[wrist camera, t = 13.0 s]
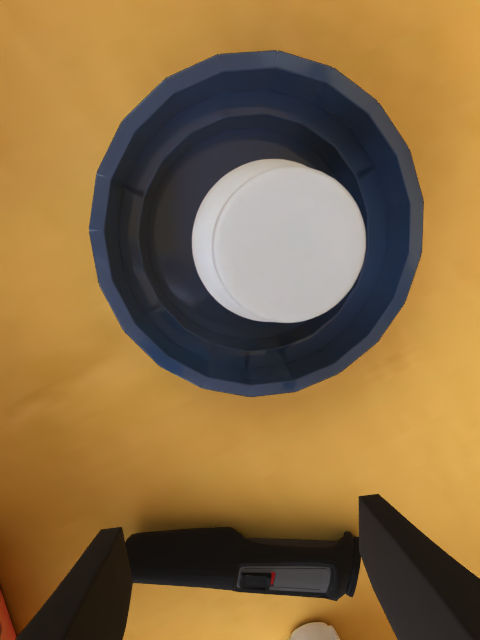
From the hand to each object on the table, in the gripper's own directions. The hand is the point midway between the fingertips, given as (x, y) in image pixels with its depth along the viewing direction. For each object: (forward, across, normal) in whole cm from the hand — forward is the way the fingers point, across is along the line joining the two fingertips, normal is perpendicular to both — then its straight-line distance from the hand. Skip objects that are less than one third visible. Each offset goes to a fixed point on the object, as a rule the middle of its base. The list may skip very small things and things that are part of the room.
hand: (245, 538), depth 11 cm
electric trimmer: (+11, 0, +11) cm, 15 cm away
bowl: (+10, -2, -8) cm, 14 cm away
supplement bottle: (+10, -2, -8) cm, 13 cm away
